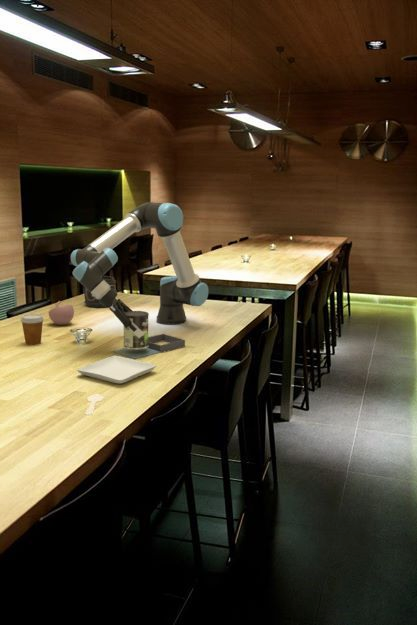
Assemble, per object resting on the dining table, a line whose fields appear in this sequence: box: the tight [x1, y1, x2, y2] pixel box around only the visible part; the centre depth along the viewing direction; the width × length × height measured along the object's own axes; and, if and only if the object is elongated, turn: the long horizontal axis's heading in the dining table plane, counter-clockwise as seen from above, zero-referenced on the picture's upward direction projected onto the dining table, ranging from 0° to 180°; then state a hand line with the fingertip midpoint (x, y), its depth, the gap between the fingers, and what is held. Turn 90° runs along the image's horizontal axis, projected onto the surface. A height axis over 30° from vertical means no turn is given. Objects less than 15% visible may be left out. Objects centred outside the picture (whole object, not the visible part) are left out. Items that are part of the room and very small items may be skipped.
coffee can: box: [123, 310, 150, 350], centre depth 247 cm, size 10×10×14 cm
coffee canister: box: [83, 275, 118, 309], centre depth 339 cm, size 18×18×16 cm
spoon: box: [84, 393, 105, 416], centre depth 191 cm, size 5×18×1 cm, turn 2°
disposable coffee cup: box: [20, 313, 45, 346], centre depth 258 cm, size 10×10×12 cm
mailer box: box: [112, 333, 186, 360], centre depth 254 cm, size 28×14×3 cm, turn 136°
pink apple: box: [48, 300, 75, 326], centre depth 293 cm, size 12×12×12 cm
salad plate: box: [76, 355, 157, 385], centre depth 220 cm, size 21×21×3 cm
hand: (143, 332), depth 247 cm, fingers closed on coffee can, 10 cm apart
